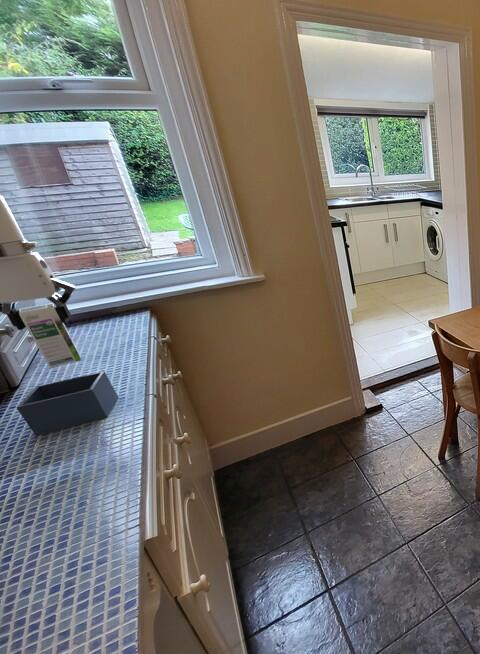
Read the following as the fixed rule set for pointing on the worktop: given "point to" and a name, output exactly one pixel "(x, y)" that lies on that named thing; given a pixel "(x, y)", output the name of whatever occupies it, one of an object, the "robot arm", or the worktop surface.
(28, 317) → the syrup box
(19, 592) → the worktop surface
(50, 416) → the tub
